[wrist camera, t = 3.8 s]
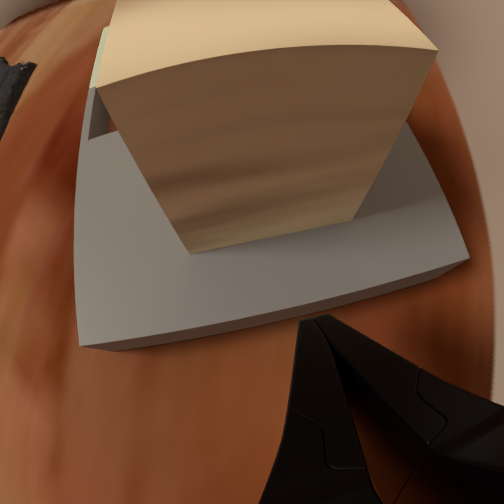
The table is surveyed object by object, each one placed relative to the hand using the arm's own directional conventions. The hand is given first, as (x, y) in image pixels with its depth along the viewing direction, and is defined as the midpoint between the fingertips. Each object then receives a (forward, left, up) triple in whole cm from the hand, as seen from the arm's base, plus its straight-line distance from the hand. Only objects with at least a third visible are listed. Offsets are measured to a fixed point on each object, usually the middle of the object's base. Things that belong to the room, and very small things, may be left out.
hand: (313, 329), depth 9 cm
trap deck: (+11, -8, -7) cm, 15 cm away
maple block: (+7, -5, -3) cm, 9 cm away
